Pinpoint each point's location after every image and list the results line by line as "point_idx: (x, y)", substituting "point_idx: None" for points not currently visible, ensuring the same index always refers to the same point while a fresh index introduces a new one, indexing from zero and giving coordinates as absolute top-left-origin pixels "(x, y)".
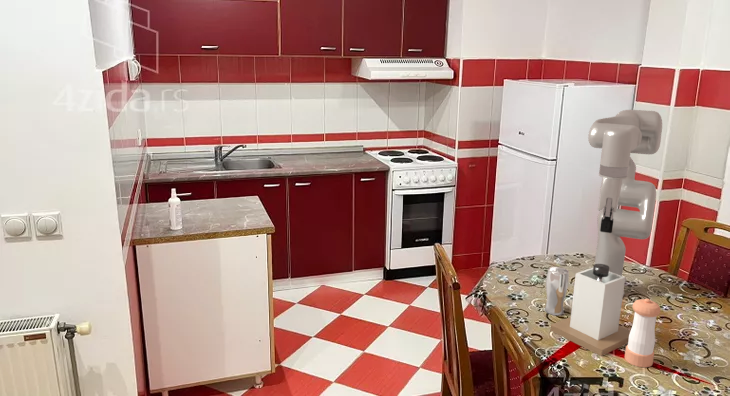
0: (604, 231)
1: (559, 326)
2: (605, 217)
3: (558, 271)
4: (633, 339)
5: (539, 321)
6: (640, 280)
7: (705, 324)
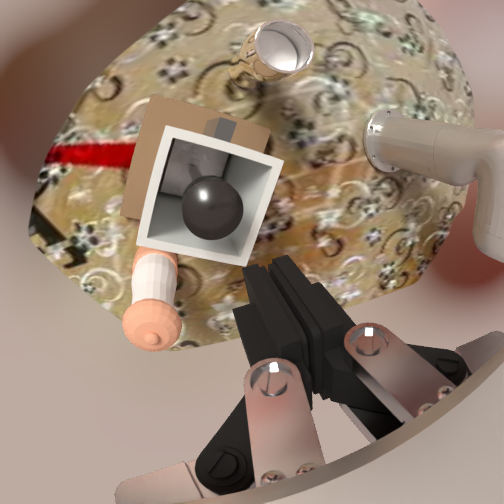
0: (248, 295)
1: (156, 110)
2: (224, 430)
3: (306, 46)
4: (132, 277)
5: (179, 62)
6: (438, 183)
7: (342, 292)
